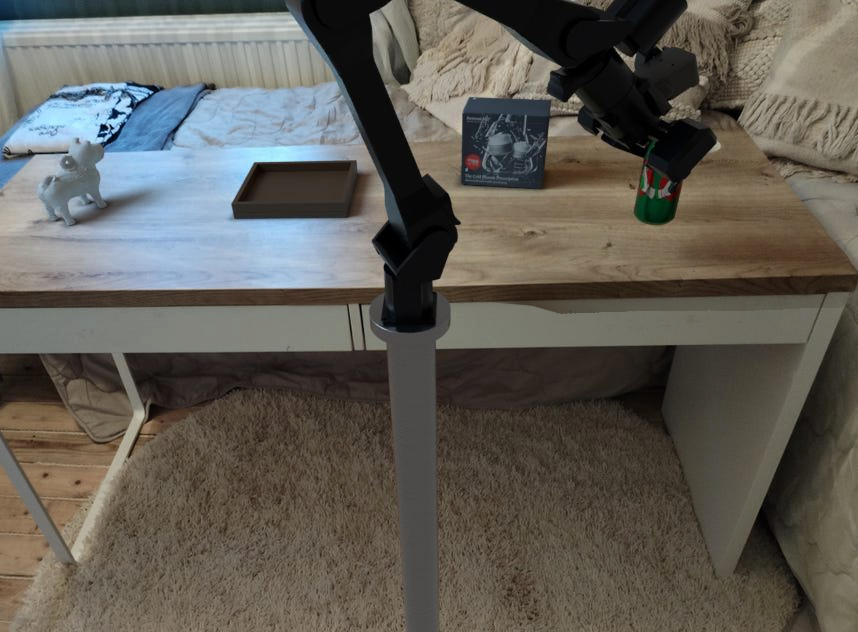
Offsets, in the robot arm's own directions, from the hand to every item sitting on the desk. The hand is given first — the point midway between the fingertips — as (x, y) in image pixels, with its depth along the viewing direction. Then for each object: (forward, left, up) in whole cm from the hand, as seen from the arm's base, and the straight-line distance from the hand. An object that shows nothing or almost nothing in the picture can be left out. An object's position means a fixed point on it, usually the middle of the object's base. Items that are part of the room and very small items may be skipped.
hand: (673, 167), depth 87 cm
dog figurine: (+15, +87, -12) cm, 89 cm away
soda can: (-1, +1, -7) cm, 7 cm away
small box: (+24, +19, -12) cm, 33 cm away
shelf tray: (+19, +52, -12) cm, 57 cm away
